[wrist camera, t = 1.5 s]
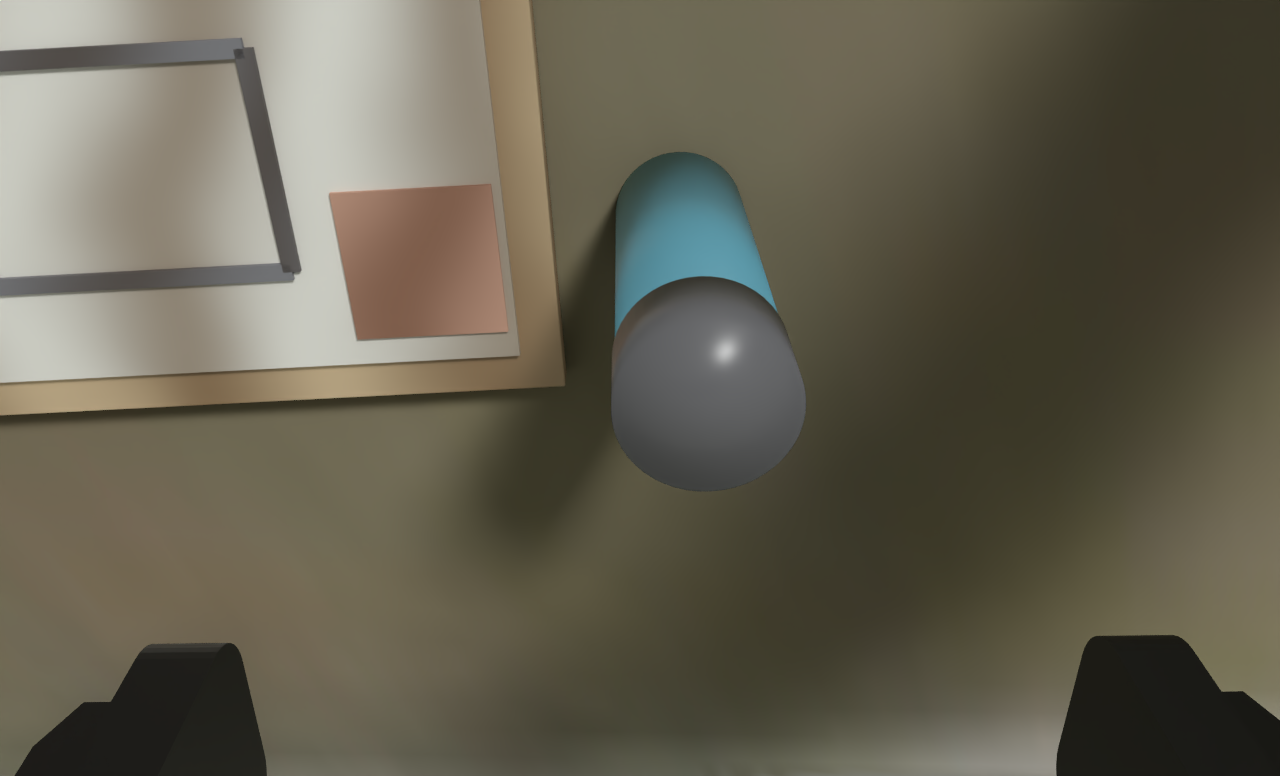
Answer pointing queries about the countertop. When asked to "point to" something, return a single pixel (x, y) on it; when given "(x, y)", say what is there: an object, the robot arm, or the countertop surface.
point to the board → (271, 202)
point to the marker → (697, 333)
